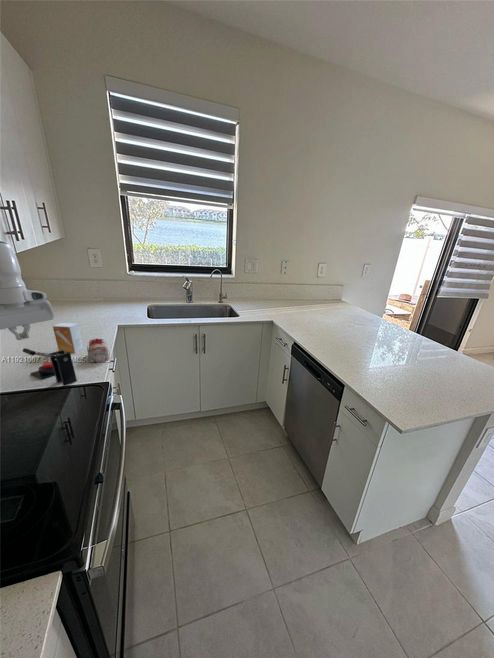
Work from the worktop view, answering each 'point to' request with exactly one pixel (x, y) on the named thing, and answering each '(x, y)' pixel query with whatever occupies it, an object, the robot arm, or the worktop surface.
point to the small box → (68, 337)
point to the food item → (97, 350)
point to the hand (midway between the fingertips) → (22, 338)
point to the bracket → (63, 368)
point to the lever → (39, 353)
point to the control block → (43, 373)
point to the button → (47, 365)
